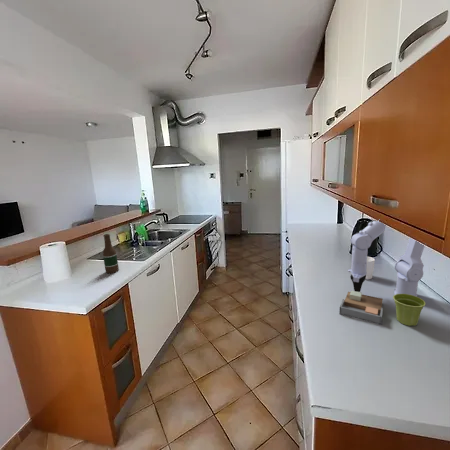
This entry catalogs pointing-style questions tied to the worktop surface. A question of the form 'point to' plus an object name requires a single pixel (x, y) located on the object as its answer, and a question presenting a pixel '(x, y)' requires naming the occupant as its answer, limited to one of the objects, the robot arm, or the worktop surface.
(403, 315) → the plant pot
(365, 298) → the board
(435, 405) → the worktop surface
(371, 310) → the tile terracotta
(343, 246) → the worktop surface
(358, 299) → the tile sage
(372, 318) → the tray
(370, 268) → the white cup
